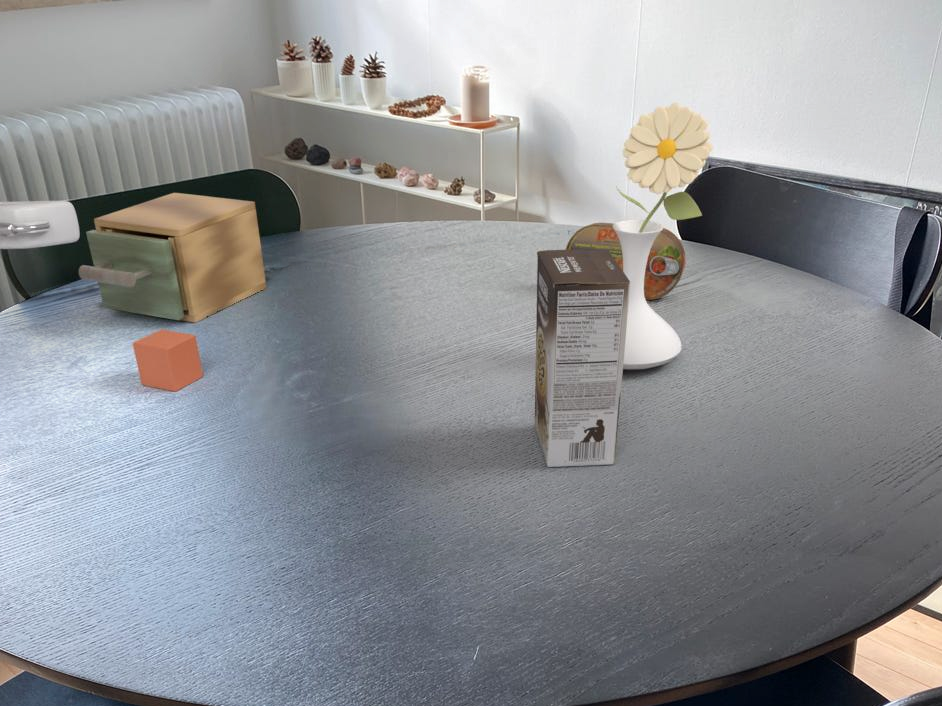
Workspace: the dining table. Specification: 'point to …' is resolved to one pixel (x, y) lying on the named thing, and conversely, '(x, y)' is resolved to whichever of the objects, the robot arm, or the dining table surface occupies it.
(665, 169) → the flower in vase
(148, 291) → the drawer
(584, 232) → the tin
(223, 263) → the cabinet
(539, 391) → the coffee box
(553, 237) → the dining table surface
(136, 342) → the block
